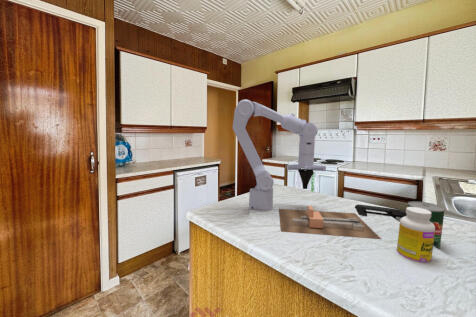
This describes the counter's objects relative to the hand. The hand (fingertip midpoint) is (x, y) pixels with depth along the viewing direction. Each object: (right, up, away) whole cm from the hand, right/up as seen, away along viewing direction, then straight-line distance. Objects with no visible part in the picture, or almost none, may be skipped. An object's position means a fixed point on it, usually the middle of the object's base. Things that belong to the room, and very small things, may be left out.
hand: (304, 188), depth 85 cm
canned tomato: (+26, -13, -23) cm, 37 cm away
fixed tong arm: (+2, -10, -16) cm, 19 cm away
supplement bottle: (+17, -14, -32) cm, 38 cm away
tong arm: (+4, -9, -14) cm, 17 cm away
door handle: (+28, -11, -7) cm, 31 cm away
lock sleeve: (-1, -9, -15) cm, 17 cm away
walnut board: (+2, -11, -12) cm, 17 cm away
